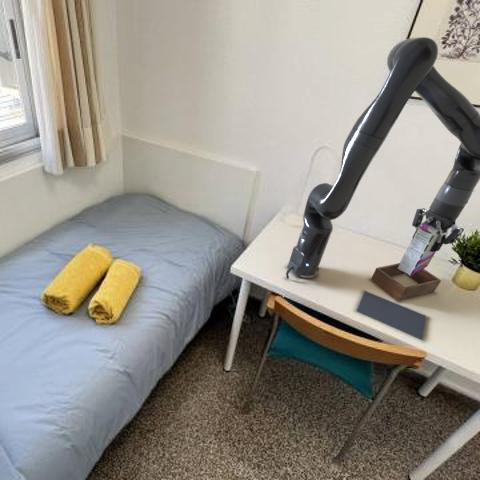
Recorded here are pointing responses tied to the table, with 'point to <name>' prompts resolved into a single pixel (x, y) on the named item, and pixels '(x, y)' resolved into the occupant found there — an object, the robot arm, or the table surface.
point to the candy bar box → (419, 250)
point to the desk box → (400, 292)
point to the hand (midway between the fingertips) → (424, 245)
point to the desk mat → (392, 314)
